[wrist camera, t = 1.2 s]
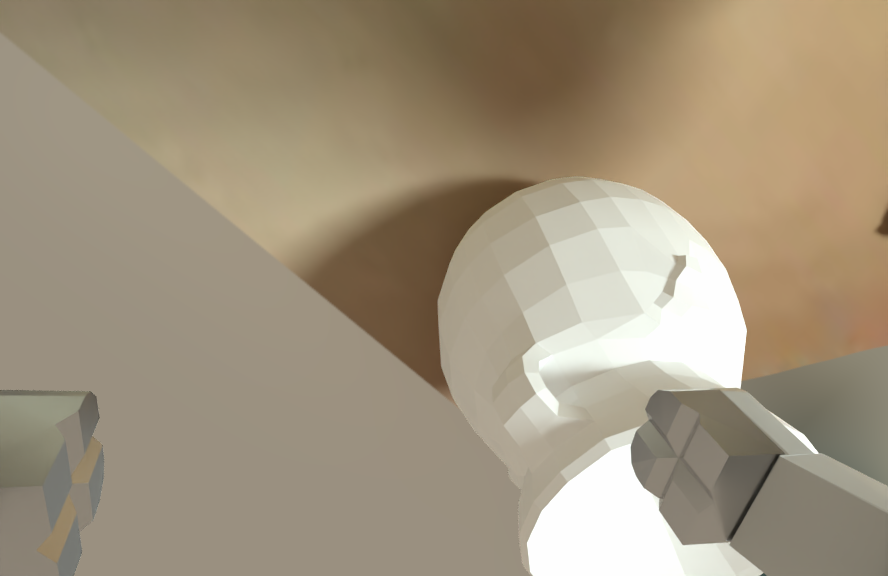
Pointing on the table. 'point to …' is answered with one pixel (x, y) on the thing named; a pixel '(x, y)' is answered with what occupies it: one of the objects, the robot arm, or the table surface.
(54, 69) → the table surface
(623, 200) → the pitcher
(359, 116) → the table surface
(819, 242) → the table surface
